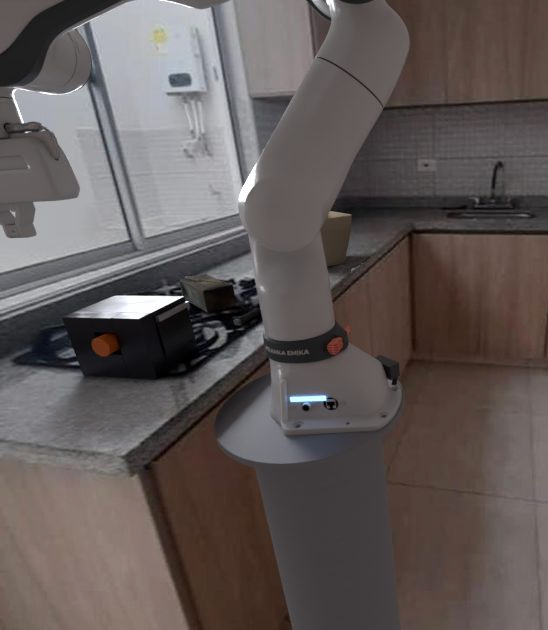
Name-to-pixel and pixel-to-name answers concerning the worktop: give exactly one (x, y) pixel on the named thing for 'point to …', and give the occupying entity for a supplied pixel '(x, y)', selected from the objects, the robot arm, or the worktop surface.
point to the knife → (247, 316)
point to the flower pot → (336, 237)
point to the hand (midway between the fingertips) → (22, 237)
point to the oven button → (105, 344)
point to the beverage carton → (208, 292)
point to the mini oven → (133, 335)
